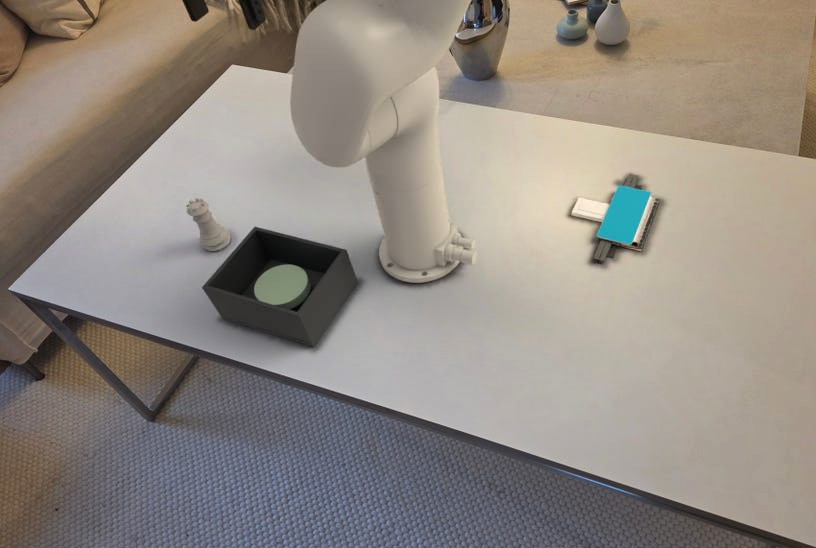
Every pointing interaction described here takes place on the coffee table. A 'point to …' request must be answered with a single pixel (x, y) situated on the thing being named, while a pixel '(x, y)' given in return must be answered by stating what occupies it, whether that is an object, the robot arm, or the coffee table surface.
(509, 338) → the coffee table surface
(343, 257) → the tub
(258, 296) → the green round disc
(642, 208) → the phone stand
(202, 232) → the rook chess piece
